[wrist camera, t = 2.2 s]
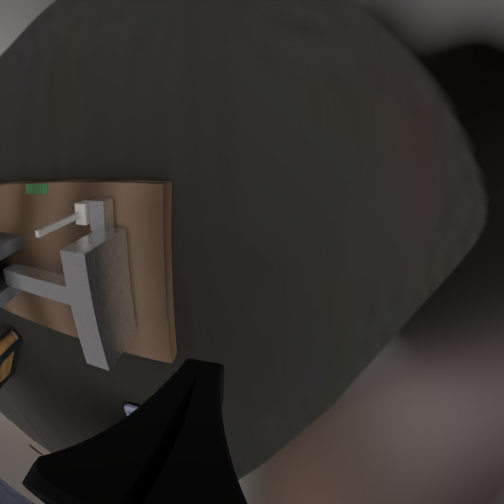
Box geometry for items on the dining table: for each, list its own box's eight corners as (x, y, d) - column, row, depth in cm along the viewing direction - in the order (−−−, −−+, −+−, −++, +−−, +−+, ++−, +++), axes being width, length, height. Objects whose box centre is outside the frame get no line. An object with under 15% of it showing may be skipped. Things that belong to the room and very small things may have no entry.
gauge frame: (171, 181, 15) (112, 204, 10) (177, 353, 20) (146, 416, 14) (-35, 185, 17) (-79, 201, 11) (-15, 292, 22) (-50, 318, 16)
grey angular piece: (124, 198, 14) (80, 216, 11) (136, 331, 18) (109, 370, 14) (17, 195, 15) (-23, 210, 11) (36, 303, 18) (6, 328, 15)
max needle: (95, 200, 15) (41, 222, 10) (96, 220, 15) (44, 247, 11) (84, 199, 15) (30, 221, 10) (85, 219, 15) (34, 245, 11)
